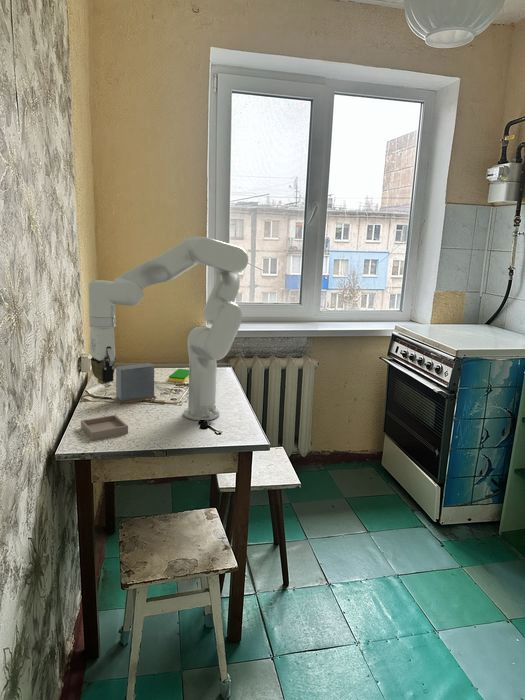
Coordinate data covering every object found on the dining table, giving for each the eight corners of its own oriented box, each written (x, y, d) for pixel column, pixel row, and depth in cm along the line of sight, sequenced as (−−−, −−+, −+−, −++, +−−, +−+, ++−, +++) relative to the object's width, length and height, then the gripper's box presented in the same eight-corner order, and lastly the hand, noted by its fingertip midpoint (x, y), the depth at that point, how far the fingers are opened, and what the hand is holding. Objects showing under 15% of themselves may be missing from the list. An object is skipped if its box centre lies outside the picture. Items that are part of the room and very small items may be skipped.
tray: (128, 433, 152) (128, 425, 152) (92, 440, 146) (92, 432, 145) (115, 421, 161) (115, 414, 161) (81, 427, 154) (80, 420, 154)
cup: (120, 380, 153) (119, 356, 151) (110, 387, 146) (110, 361, 144) (97, 378, 154) (96, 354, 152) (86, 385, 147) (86, 359, 145)
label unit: (155, 398, 186) (156, 366, 183) (120, 404, 177) (120, 370, 174) (149, 394, 190) (149, 362, 187) (114, 399, 182) (114, 366, 179)
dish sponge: (193, 375, 222) (193, 369, 222) (184, 383, 209) (184, 377, 208) (178, 373, 223) (178, 368, 222) (168, 381, 210) (168, 376, 209)
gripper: (81, 317, 150) (82, 373, 154) (99, 327, 137) (100, 387, 141) (105, 316, 155) (106, 370, 159) (125, 326, 141) (125, 384, 145)
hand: (103, 378), depth 150 cm, fingers closed on cup, 7 cm apart
